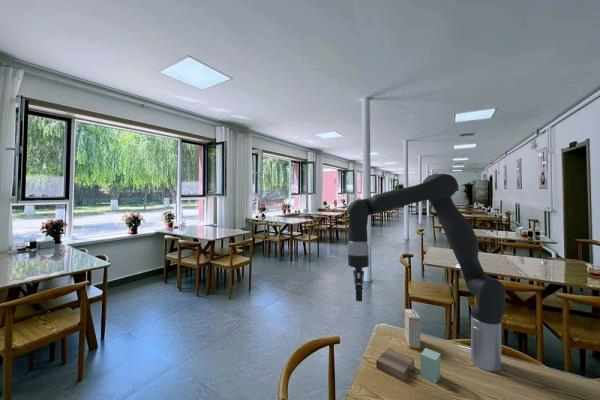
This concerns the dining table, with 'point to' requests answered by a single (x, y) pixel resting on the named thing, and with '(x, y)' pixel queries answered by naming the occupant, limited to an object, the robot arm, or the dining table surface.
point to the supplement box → (412, 328)
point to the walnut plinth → (395, 364)
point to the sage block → (430, 365)
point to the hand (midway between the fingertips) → (359, 297)
